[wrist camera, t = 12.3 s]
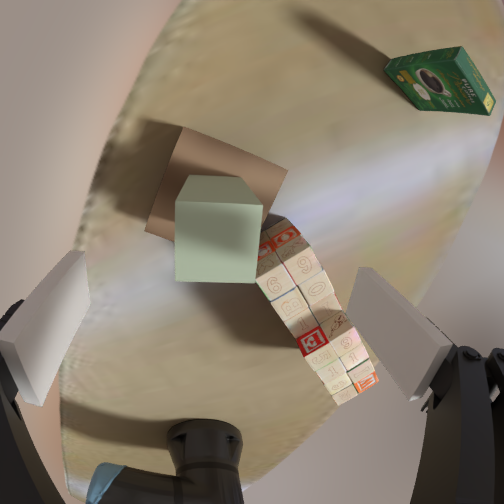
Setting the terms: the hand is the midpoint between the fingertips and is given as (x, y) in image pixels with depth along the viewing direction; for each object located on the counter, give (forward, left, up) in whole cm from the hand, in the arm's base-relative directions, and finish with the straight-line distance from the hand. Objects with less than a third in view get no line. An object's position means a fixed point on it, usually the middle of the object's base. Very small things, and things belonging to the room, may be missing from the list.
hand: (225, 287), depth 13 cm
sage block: (0, 0, -17) cm, 17 cm away
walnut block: (0, 0, -22) cm, 22 cm away
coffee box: (+18, -23, -22) cm, 36 cm away
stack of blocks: (-12, -13, -22) cm, 28 cm away
